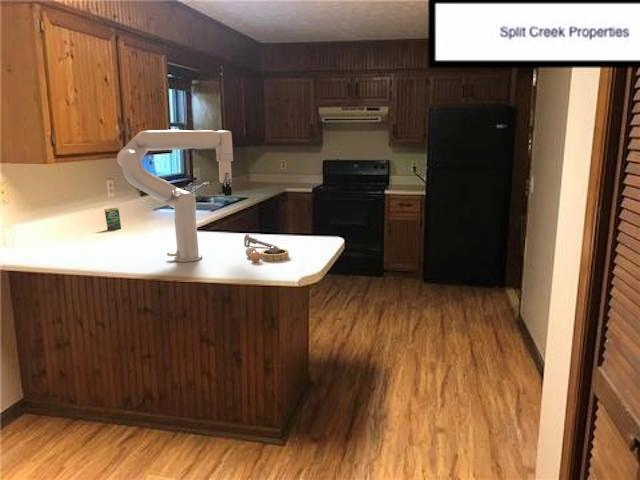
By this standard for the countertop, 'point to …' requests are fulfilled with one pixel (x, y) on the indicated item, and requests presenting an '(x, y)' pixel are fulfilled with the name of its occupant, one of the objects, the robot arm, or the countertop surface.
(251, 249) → the cream ball
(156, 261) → the countertop surface
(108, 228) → the coffee box
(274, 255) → the ring
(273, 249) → the steel ball
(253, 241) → the caliper
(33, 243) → the countertop surface
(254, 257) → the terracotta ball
